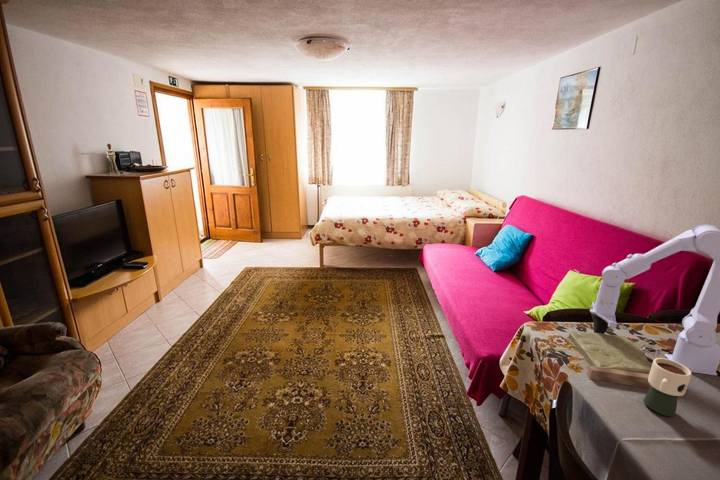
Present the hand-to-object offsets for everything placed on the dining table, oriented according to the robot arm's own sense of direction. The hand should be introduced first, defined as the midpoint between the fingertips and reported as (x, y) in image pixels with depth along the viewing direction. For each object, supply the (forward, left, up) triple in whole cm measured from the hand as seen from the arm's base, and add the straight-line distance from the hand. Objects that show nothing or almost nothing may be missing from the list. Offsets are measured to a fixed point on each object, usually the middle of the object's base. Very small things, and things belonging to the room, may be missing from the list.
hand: (598, 335), depth 116 cm
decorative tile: (0, +11, -2) cm, 11 cm away
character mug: (-2, +32, -2) cm, 32 cm away
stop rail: (0, +23, -1) cm, 23 cm away
